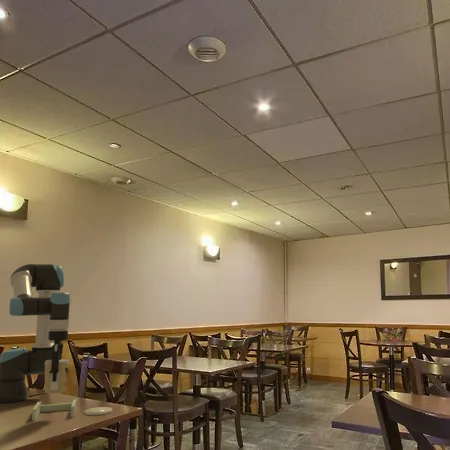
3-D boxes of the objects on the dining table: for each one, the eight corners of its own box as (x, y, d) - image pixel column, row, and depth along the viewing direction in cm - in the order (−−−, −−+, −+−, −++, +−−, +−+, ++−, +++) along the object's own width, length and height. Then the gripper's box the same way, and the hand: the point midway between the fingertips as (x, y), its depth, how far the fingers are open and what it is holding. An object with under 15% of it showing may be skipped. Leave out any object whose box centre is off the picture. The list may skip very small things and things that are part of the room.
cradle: (37, 411, 182) (38, 401, 183) (76, 408, 186) (76, 398, 187) (31, 420, 168) (32, 409, 169) (73, 417, 172) (74, 406, 173)
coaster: (85, 410, 183) (85, 408, 184) (112, 408, 186) (112, 406, 186) (83, 416, 173) (83, 414, 173) (112, 414, 176) (112, 412, 176)
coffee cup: (70, 391, 174) (72, 360, 176) (46, 394, 169) (48, 362, 171) (63, 388, 182) (65, 358, 184) (39, 391, 176) (41, 360, 178)
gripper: (52, 328, 189) (48, 383, 185) (45, 332, 168) (41, 393, 164) (70, 328, 191) (67, 382, 187) (65, 331, 170) (62, 392, 166)
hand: (55, 387), depth 176 cm, fingers closed on coffee cup, 9 cm apart
